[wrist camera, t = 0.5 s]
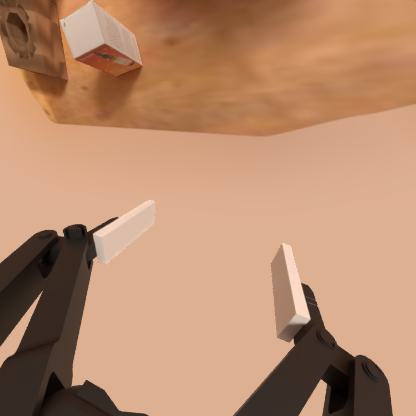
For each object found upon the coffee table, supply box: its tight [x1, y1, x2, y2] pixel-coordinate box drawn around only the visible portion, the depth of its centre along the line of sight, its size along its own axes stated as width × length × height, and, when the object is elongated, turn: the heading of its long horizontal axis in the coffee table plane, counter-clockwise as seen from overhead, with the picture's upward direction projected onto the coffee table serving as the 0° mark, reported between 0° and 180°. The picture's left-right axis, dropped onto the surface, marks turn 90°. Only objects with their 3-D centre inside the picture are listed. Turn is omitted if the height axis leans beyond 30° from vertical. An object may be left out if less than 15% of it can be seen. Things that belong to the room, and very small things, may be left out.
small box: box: [60, 0, 143, 77], centre depth 32 cm, size 8×6×10 cm
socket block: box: [0, 0, 68, 80], centre depth 38 cm, size 14×12×5 cm
